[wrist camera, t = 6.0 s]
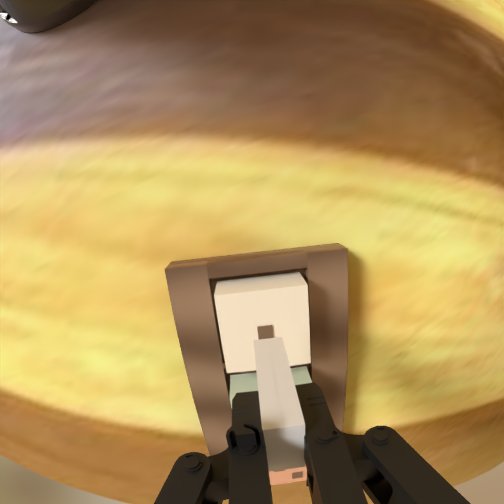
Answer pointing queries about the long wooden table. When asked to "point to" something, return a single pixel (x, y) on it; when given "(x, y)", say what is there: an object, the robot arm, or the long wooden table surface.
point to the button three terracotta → (288, 475)
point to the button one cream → (263, 317)
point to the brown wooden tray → (208, 334)
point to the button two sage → (250, 382)
